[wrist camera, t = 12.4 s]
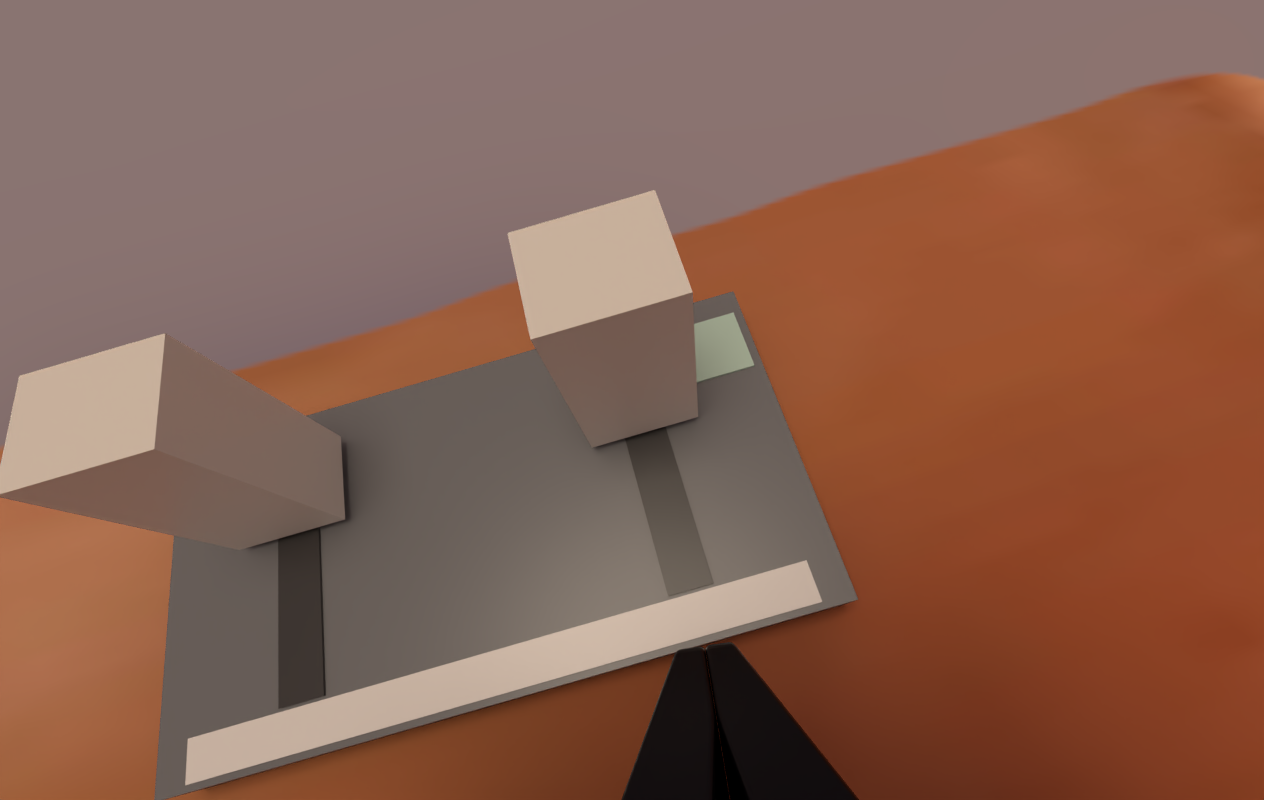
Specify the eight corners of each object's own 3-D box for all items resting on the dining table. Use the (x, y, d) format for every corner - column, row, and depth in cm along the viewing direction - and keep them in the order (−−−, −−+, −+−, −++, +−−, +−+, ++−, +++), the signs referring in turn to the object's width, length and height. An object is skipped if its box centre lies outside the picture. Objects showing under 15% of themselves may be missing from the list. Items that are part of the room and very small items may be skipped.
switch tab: (345, 519, 19) (154, 448, 13) (239, 550, 19) (-7, 496, 13) (340, 436, 20) (165, 333, 14) (241, 465, 20) (19, 375, 14)
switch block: (844, 604, 18) (858, 599, 17) (203, 789, 18) (151, 803, 17) (731, 317, 23) (733, 289, 21) (218, 467, 23) (177, 451, 21)
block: (698, 416, 19) (692, 292, 12) (591, 447, 19) (530, 339, 12) (672, 340, 20) (654, 189, 14) (572, 369, 20) (507, 233, 14)
